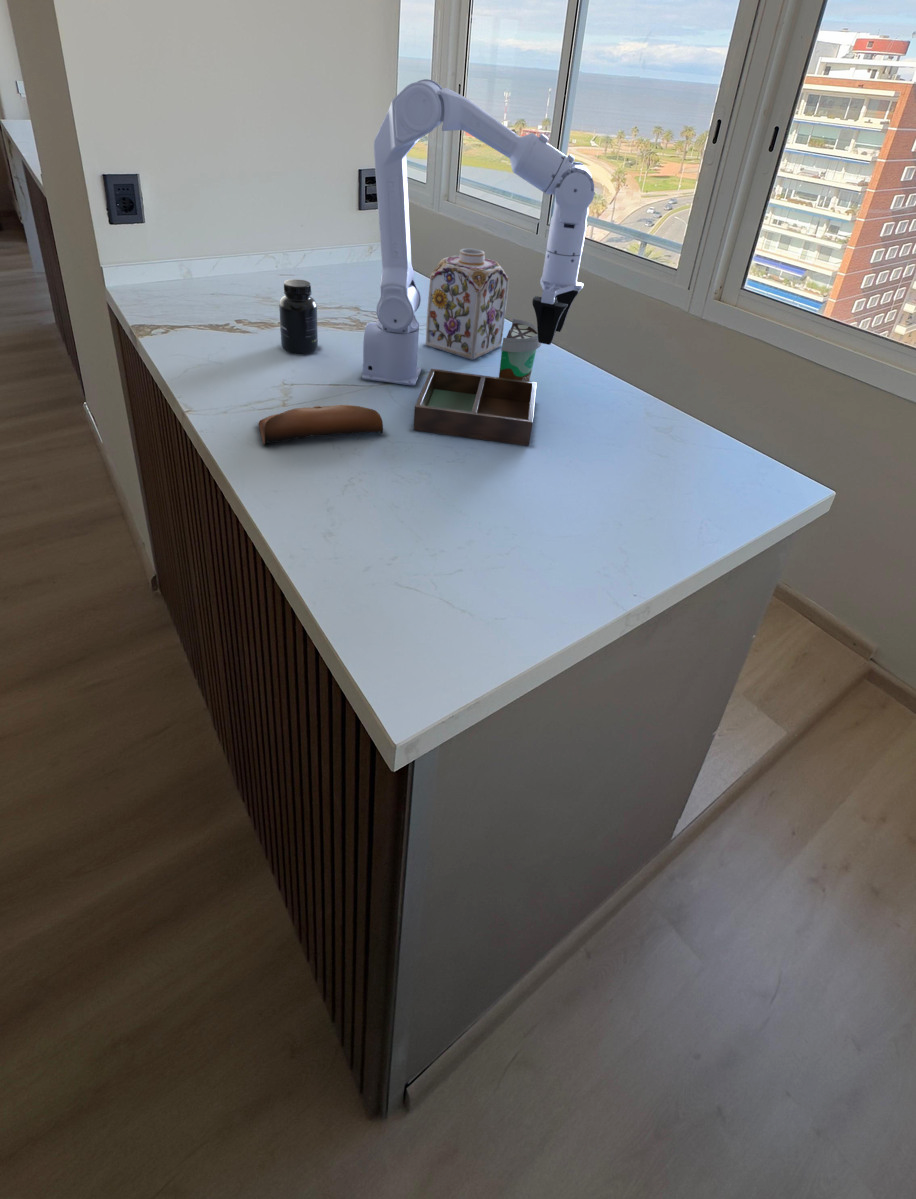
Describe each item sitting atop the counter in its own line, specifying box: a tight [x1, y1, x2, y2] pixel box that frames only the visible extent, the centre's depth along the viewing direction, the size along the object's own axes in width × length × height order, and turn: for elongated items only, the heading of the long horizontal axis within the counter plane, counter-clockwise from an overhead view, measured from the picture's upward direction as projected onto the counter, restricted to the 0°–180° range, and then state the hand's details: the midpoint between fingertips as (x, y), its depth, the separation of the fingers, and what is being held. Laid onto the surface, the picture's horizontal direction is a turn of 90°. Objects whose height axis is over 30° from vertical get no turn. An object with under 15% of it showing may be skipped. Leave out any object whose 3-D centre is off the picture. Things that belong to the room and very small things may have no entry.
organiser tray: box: [413, 368, 537, 447], centre depth 120 cm, size 18×17×4 cm
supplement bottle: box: [278, 278, 319, 355], centre depth 134 cm, size 7×7×12 cm
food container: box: [498, 318, 542, 382], centre depth 130 cm, size 12×6×10 cm, turn 168°
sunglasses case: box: [258, 404, 384, 445], centre depth 110 cm, size 18×7×7 cm
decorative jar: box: [425, 248, 510, 361], centre depth 141 cm, size 12×12×18 cm
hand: (549, 336), depth 125 cm, fingers open, 7 cm apart
